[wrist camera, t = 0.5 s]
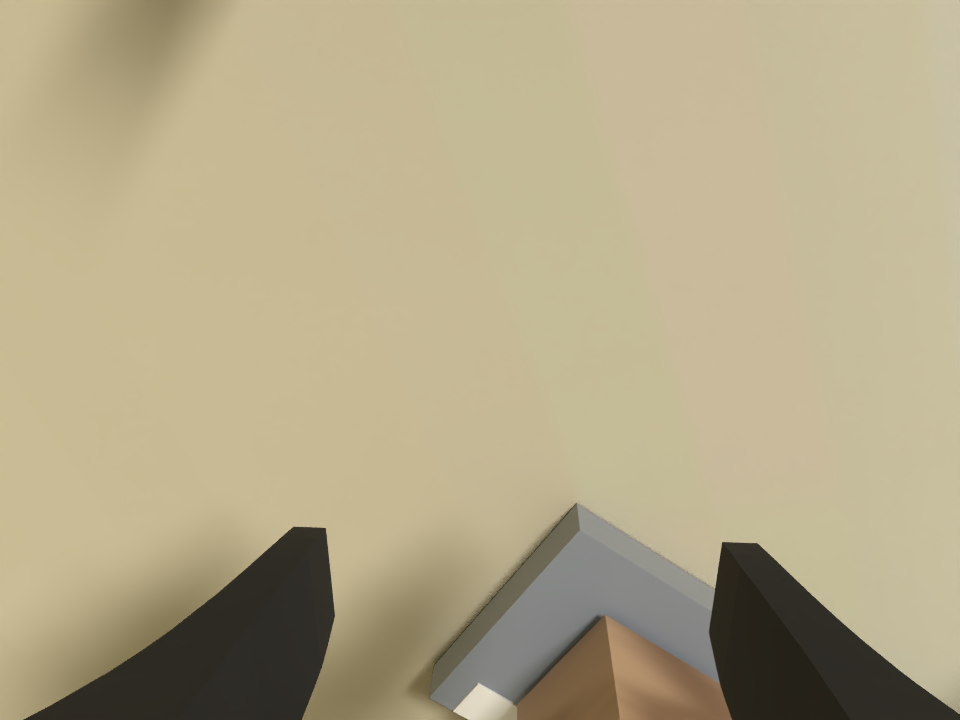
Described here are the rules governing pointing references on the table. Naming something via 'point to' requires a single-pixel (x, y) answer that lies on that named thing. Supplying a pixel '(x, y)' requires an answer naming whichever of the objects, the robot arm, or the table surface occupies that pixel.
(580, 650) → the block
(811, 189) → the table surface
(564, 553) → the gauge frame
